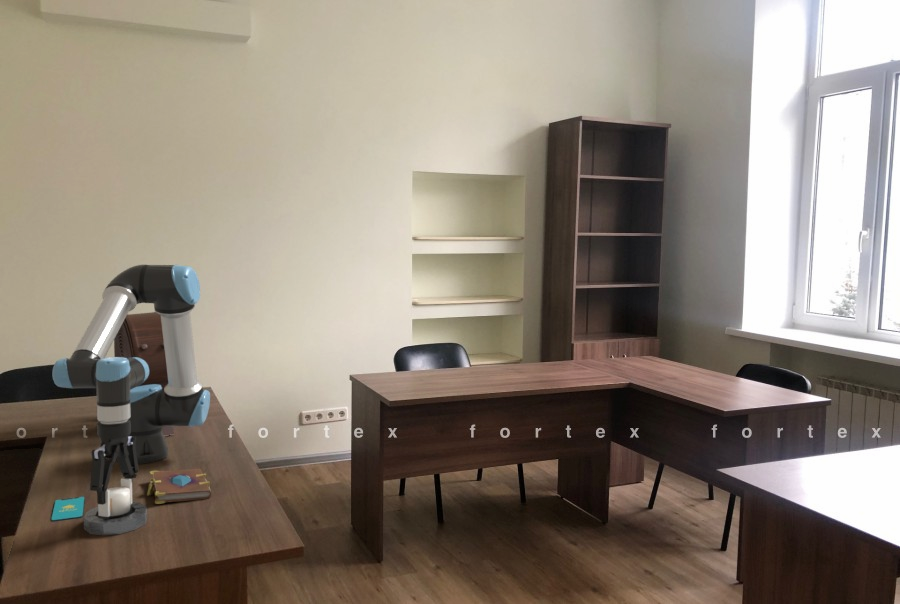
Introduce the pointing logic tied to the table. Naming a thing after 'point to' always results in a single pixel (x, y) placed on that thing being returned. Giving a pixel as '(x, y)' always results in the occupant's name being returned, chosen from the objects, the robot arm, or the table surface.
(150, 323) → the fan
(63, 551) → the table surface
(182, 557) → the table surface
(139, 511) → the faceted grey ring
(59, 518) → the smartphone
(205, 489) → the book
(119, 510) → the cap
